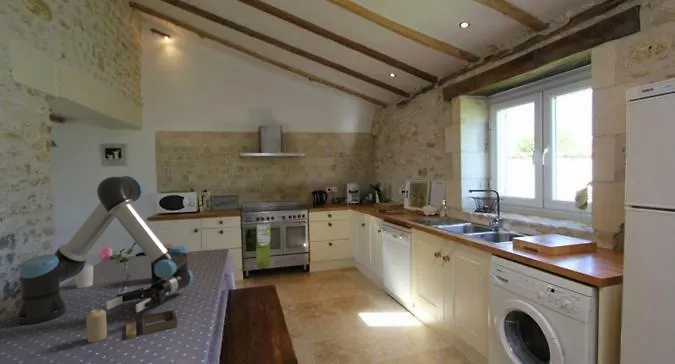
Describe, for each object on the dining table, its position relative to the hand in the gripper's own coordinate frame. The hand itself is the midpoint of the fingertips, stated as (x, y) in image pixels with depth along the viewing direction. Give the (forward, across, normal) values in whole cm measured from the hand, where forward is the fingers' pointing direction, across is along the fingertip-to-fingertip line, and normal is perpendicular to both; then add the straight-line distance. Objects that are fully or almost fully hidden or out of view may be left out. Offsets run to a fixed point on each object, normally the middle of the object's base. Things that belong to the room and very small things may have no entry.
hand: (121, 307), depth 127 cm
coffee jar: (-50, +26, -7) cm, 57 cm away
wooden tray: (-4, -13, -7) cm, 15 cm away
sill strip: (+3, -7, -7) cm, 10 cm away
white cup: (-34, +60, -7) cm, 69 cm away
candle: (+10, 0, -7) cm, 12 cm away
